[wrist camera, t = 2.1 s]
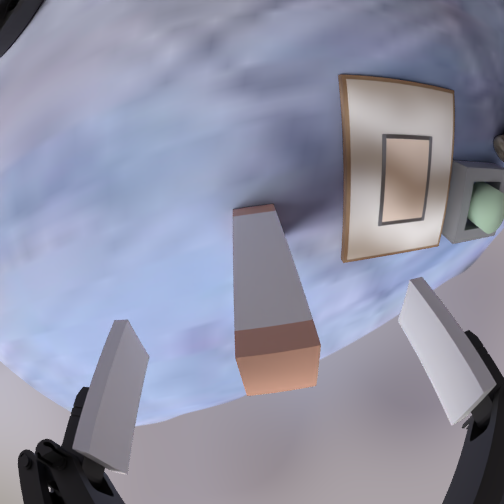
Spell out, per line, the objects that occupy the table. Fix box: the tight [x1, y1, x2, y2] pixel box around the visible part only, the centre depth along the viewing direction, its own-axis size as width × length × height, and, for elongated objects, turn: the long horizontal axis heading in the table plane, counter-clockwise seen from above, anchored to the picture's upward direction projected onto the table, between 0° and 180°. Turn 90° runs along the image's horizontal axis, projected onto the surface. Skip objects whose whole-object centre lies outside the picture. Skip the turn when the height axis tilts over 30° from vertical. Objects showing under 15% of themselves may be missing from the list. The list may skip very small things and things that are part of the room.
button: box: [467, 182, 504, 234], centre depth 17 cm, size 4×4×3 cm
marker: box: [233, 204, 321, 396], centre depth 14 cm, size 3×3×12 cm
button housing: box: [441, 160, 504, 244], centre depth 18 cm, size 7×7×2 cm
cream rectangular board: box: [338, 74, 455, 263], centre depth 17 cm, size 14×10×1 cm
